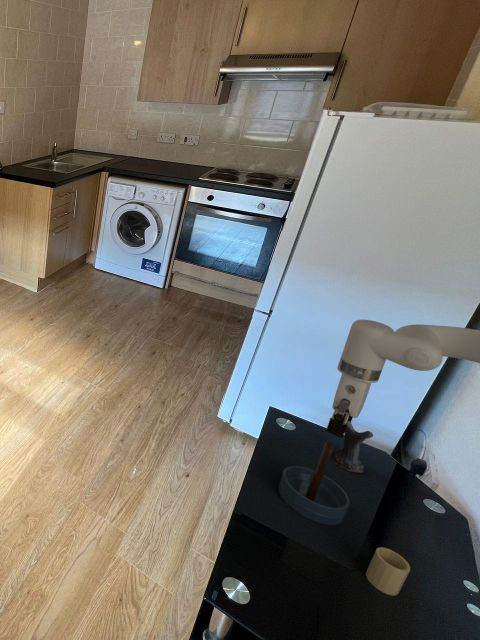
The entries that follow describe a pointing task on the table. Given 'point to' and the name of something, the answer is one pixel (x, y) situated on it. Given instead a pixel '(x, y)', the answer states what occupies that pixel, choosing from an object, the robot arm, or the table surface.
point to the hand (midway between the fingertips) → (338, 426)
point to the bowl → (327, 502)
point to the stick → (320, 470)
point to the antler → (351, 449)
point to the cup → (387, 571)
